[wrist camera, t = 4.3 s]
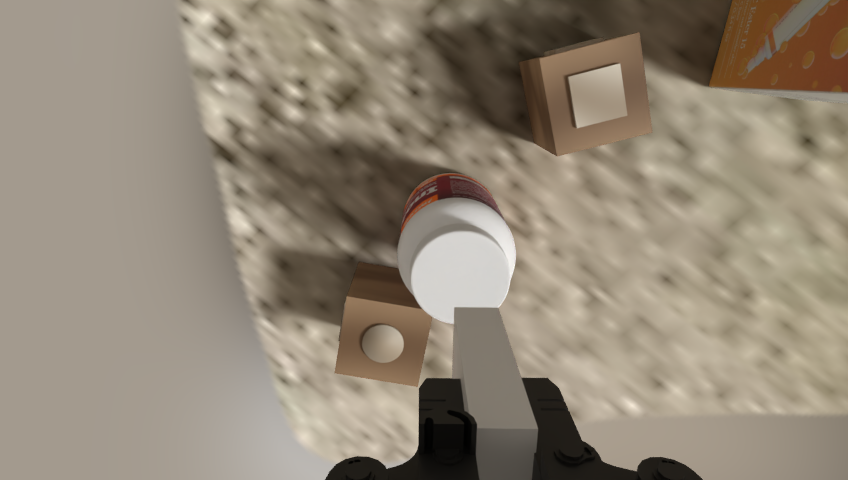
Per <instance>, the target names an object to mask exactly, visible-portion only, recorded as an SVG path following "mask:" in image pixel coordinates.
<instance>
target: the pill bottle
mask: <svg viewBox="0 0 848 480" xmlns="http://www.w3.org/2000/svg"><path fill="white" fill-rule="evenodd" d="M397 260H398V268H399V272H400V275H401V278H402V280H403V282H404V284H405V285H406V287H407V288H408V290H409V291H410V292H411V293H412V294H413V295H414V297H415V299H416V301H417V303H418V304H419V305H420V307H421V308H422V309H423V310H424V311H425V312H426V313H427V314H429V315H430V316H432V317H433V318H435V319H437V320H439V321H442V322H445V323H449V324H454V307H489V308H498V307H499V306H500V305H501V304H502V302H503V301H504V299H505V297H506V295H507V293H508V290H509V286H510V279H511V277H512V274H513V271H514V267H515V261H516V249H515V243H514V239H513V236H512V234H511V231H510V229H509V227H508V225H507V223H506V222H505V220H504V218H503V216H502V214H501V212H500V210H499V209H498V206H497V205H496V203H495V201H494V199H493V197H492V195H491V194H490V193H489V191H488V190H487V189H486V188H485V187H484V186H483V185H482V184H481V183H480V182H478V181H477V180H475V179H473V178H471V177H469V176H466V175H463V174H458V173H444V174H439V175H435V176H433V177H431V178H428V179H427V180H425V181H423V182H422V183H421V184H419V185H418V186H417V187H416V188H415V189H414V191H413V192H412V193H411V195H410V196H409V198H408V200H407V202H406V205H405V208H404V212H403V217H402V224H401V231H400V236H399V242H398V251H397Z"/></svg>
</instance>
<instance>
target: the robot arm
mask: <svg viewBox="0 0 848 480" xmlns="http://www.w3.org/2000/svg"><path fill="white" fill-rule="evenodd" d="M325 480H703V479H702V478H701V477H700V476H699V475H697V474H696V473H695V472H694V471H693V470H691V469H690V468H689V467H687V466H686V465H684V464H682V463H680V462H677V461H675V460H672V459H667V458H663V457H650V458H648V459H645V460H642V462H641V463H640V464H639V466H638V469H637V472H636V471H632V470H628V469H623V468H619V467H616V466H612V465H609V464H607V463H604V462H603V461H602V460H601V458H600V456H599V454H598V453H597V452H596V450H595V449H594V448H593V447H591V446H590V445H588V444H587V443H586V442H583V441H582V440H581V437H580V435H579V433H578V430H577V428H576V426H575V424H574V421H573V419H572V417H571V415H570V412H569V411H568V408H567V406H566V403H565V402H564V399H563V396H562V394H561V392H560V390H559V388H558V387H557V386H556V385H555V384H554V383H552V382H551V381H550V380H549V379H548V378H521V375H520V372H519V369H518V366H517V363H516V360H515V357H514V354H513V351H512V348H511V345H510V342H509V339H508V336H507V333H506V330H505V327H504V324H503V321H502V318H501V315H500V312H499V309H498V308H489V307H454V332H453V365H452V379H450V378H426V380H425V381H424V382H423V384H422V385H421V386H420V388H419V445H418V450H417V452H416V453H415V455H414V456H413V457H412V458H411V459H410V460H409V461H407V462H405V463H404V464H402V465H399V466H396V467H392V468H388V469H386V467H385V466H384V465H383V464H382V463H381V462H380V461H378V460H376V459H373V458H370V457H358V456H357V457H352V458H348V459H345V460H343V461H341V462H340V463H338V464H336V465H335V466H334V468H333V469H332V470H331V471H330V472H329V474H328V476H327V477H326V479H325Z"/></svg>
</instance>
